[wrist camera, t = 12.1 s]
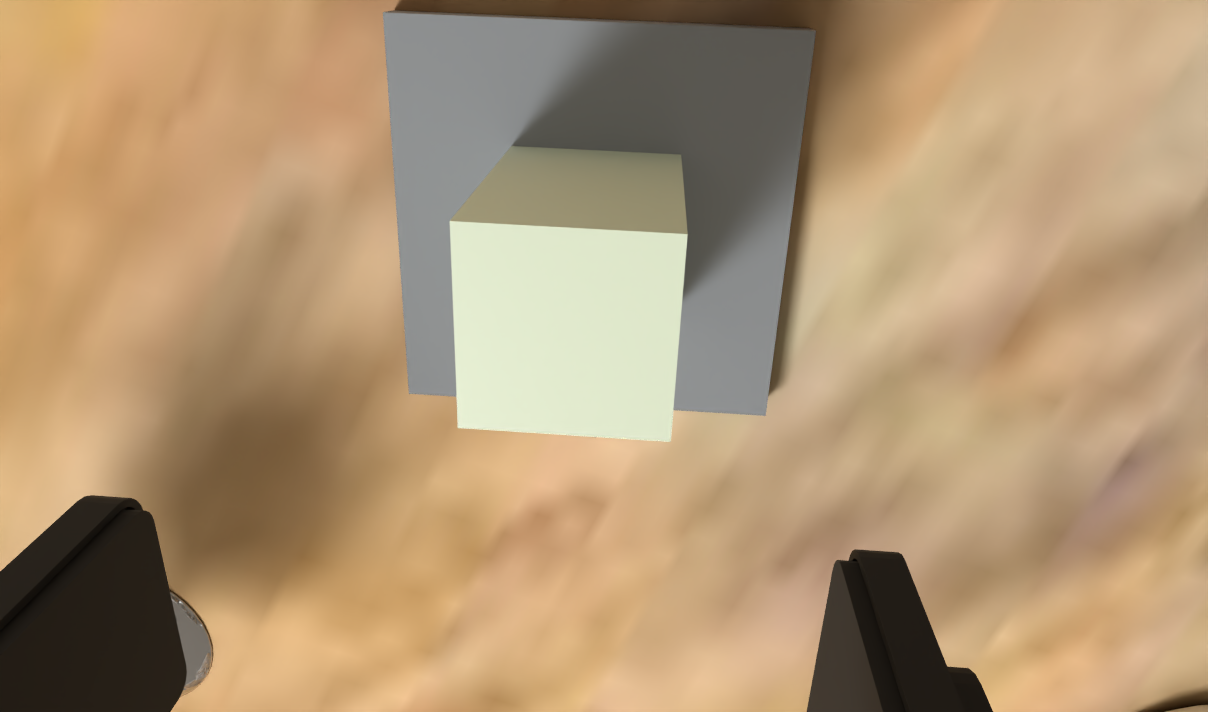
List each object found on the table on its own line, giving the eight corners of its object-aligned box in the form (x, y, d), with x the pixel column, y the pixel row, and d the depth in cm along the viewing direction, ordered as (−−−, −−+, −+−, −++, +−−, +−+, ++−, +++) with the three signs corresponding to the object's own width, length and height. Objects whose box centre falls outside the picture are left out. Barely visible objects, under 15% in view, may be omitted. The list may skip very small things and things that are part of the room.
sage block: (680, 154, 25) (687, 233, 18) (669, 313, 27) (671, 441, 20) (511, 146, 25) (449, 220, 18) (512, 303, 27) (457, 427, 20)
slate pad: (810, 27, 24) (815, 30, 23) (762, 401, 29) (765, 415, 28) (393, 10, 25) (382, 12, 24) (416, 380, 30) (408, 393, 29)
